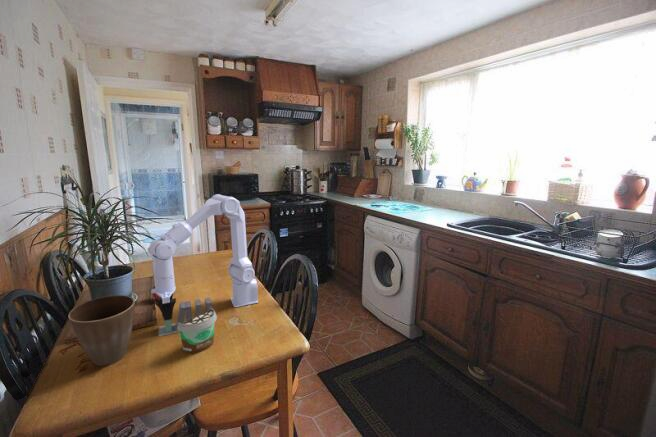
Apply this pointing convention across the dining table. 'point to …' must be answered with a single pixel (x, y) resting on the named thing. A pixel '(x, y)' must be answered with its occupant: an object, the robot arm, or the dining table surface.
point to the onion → (155, 295)
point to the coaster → (163, 329)
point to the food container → (198, 332)
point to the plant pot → (104, 327)
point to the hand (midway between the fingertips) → (167, 314)
